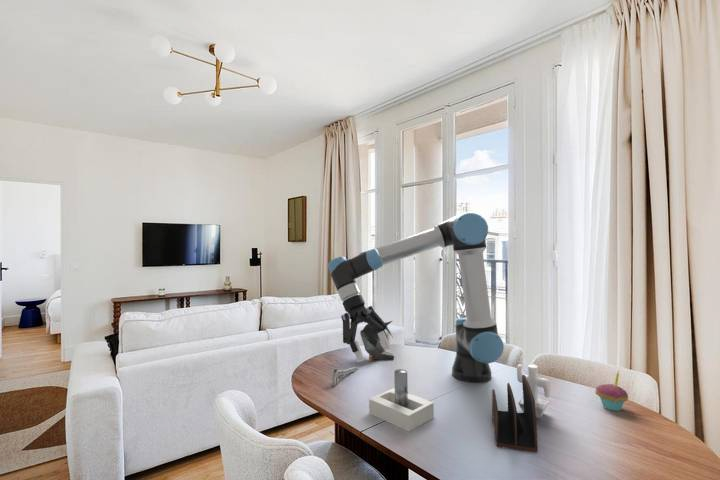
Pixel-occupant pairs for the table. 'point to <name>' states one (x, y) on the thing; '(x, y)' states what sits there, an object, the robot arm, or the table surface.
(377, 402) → the block
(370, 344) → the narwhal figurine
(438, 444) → the table surface
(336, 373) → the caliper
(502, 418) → the letter holder
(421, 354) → the table surface
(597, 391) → the cupcake
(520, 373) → the figurine
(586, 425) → the table surface
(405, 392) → the pin
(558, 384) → the table surface
